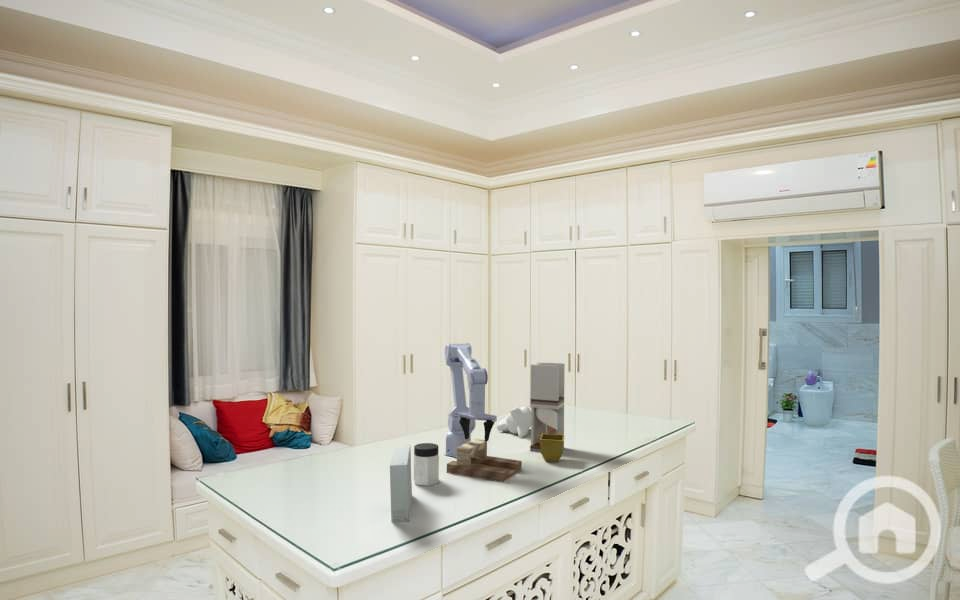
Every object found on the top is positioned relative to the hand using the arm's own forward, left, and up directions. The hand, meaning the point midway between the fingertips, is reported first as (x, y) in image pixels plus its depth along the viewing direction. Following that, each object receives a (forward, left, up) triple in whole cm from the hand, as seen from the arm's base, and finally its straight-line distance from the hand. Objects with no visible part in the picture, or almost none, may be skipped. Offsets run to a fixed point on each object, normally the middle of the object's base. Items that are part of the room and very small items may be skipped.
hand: (476, 439), depth 200 cm
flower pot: (+21, +23, -11) cm, 33 cm away
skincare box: (-2, -44, -11) cm, 45 cm away
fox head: (-9, +57, -11) cm, 58 cm away
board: (+4, -1, -10) cm, 11 cm away
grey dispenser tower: (+14, +37, -11) cm, 41 cm away
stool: (-1, -1, -7) cm, 8 cm away
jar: (-8, -21, -11) cm, 25 cm away
